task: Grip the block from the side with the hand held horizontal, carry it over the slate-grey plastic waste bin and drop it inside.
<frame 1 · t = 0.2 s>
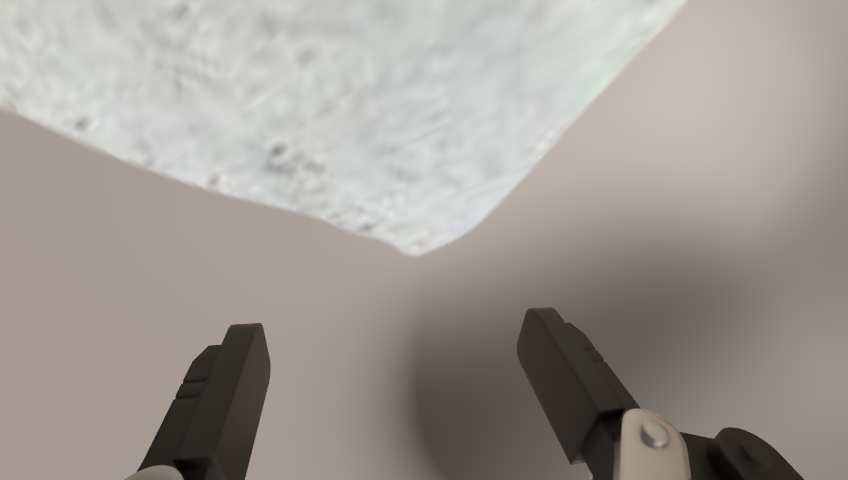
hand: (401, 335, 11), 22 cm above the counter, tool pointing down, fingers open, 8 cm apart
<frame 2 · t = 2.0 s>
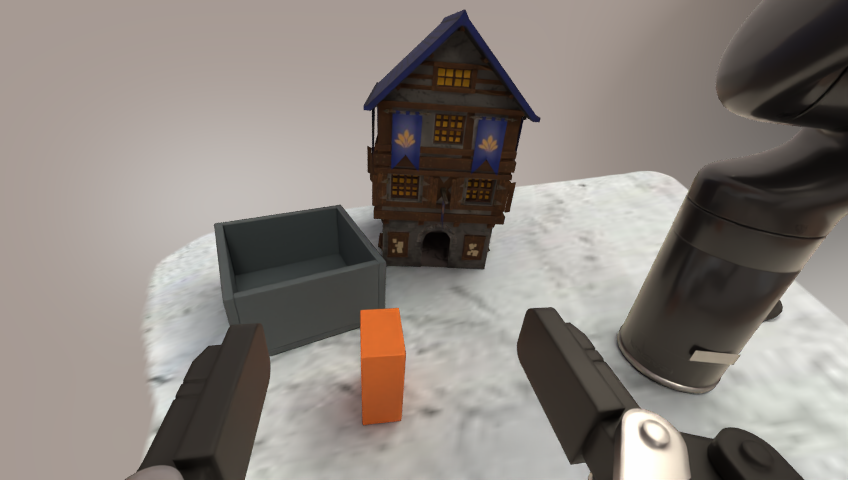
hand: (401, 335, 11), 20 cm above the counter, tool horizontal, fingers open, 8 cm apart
miniature building: (427, 245, 54), on the counter
block: (380, 396, 31), on the counter
bin: (302, 298, 41), on the counter
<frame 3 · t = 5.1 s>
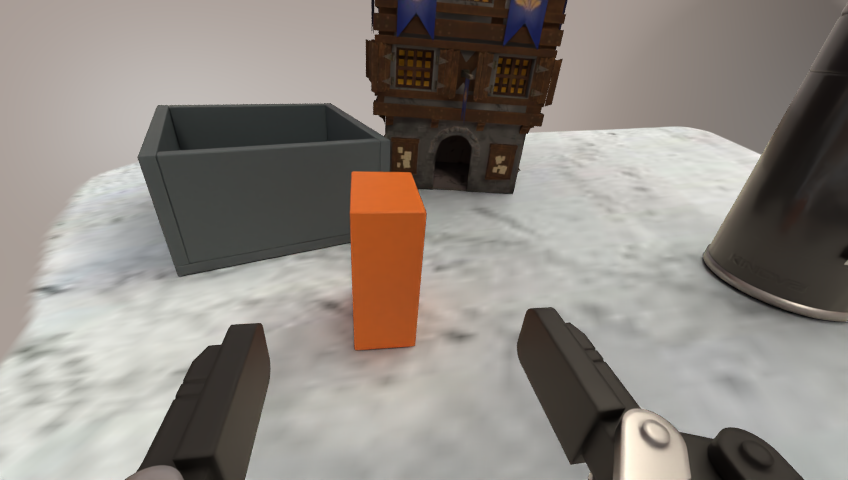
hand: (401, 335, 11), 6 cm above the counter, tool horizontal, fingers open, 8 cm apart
miniature building: (440, 172, 44), on the counter
block: (382, 316, 21), on the counter
bin: (278, 212, 31), on the counter
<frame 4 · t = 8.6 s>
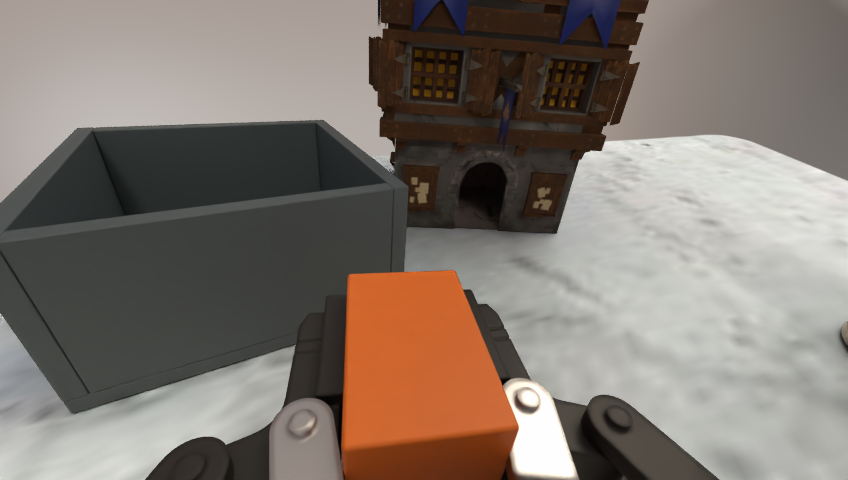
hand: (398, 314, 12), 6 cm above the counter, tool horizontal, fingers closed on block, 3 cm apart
miniature building: (460, 202, 35), on the counter
bin: (250, 273, 23), on the counter
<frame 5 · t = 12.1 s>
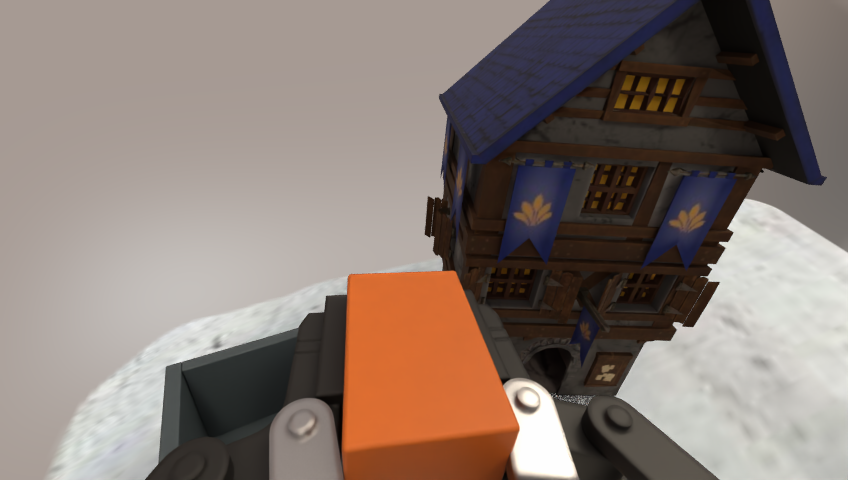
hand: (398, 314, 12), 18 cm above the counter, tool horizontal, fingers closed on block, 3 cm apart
miniature building: (512, 341, 36), on the counter
when the fingers open (9 cm above the counter, at t = 16.1 s): block drops 2 cm, resting on bin.
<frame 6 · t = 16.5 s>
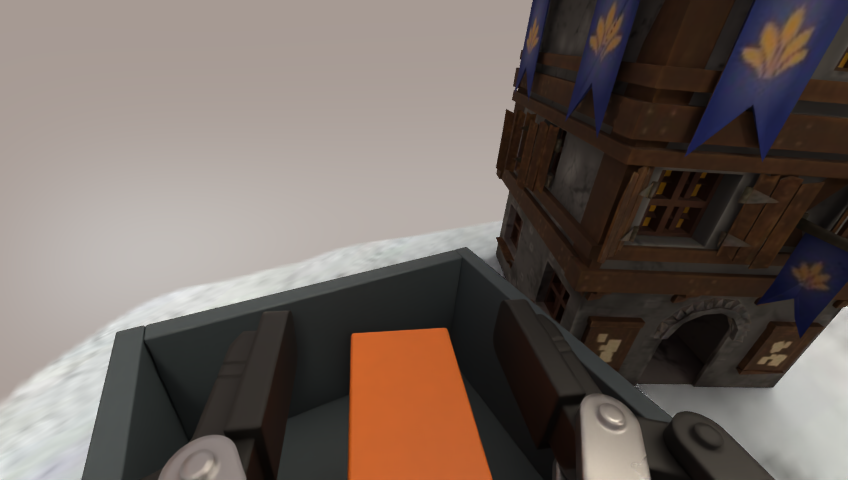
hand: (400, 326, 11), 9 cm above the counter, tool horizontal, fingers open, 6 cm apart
miniature building: (605, 317, 27), on the counter
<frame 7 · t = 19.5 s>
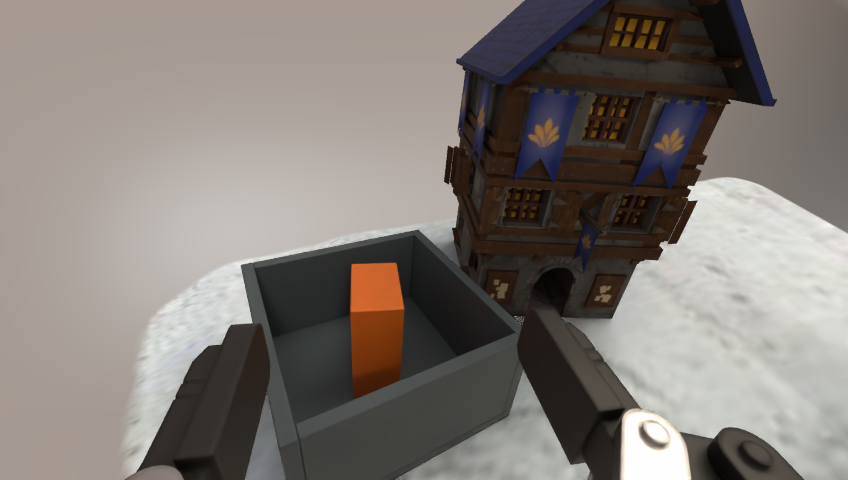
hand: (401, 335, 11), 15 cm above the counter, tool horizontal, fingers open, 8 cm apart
miniature building: (520, 280, 40), on the counter
block: (374, 368, 27), point 1 cm above the counter, touching bin
bin: (374, 376, 27), on the counter
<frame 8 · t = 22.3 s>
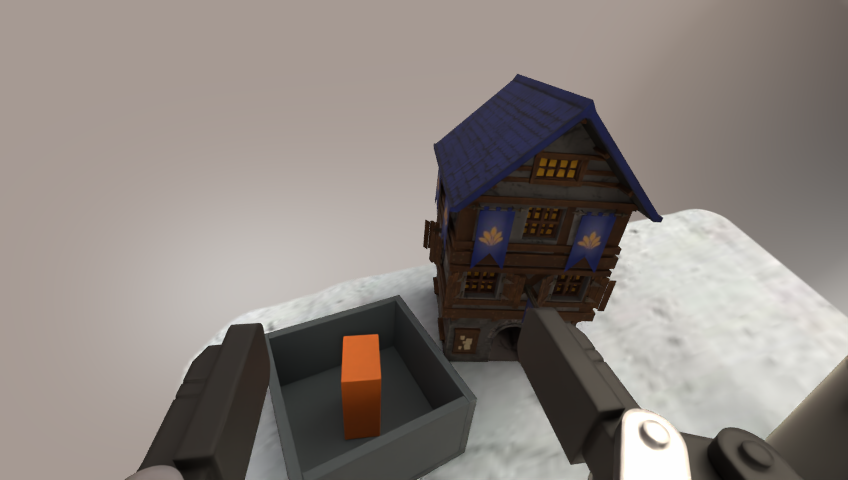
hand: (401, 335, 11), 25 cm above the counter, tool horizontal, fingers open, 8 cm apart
miniature building: (488, 326, 47), on the counter
block: (362, 413, 34), point 1 cm above the counter, touching bin
bin: (361, 419, 35), on the counter
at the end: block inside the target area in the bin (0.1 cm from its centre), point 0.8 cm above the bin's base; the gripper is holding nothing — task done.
